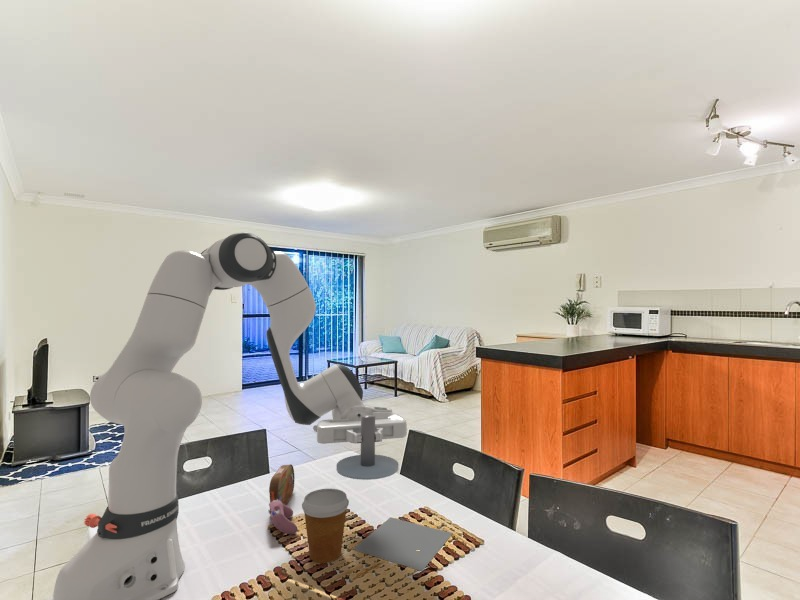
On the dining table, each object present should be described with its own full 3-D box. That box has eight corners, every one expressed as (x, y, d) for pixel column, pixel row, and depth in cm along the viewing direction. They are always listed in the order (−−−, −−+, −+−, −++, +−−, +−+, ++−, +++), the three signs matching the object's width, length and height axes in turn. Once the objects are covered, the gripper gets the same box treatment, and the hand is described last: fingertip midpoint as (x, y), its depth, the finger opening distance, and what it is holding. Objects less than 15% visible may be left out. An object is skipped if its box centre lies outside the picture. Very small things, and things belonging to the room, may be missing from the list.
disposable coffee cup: (305, 574, 82) (305, 510, 83) (298, 549, 91) (298, 491, 92) (354, 564, 86) (354, 502, 86) (342, 540, 95) (342, 485, 95)
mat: (422, 573, 83) (422, 571, 83) (352, 551, 90) (352, 549, 90) (452, 535, 97) (452, 533, 97) (390, 519, 104) (390, 517, 104)
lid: (377, 484, 82) (378, 427, 83) (323, 472, 89) (324, 418, 89) (409, 464, 94) (409, 413, 94) (359, 454, 100) (359, 407, 100)
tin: (279, 515, 107) (279, 480, 107) (266, 515, 107) (267, 480, 107) (295, 490, 122) (295, 459, 122) (284, 490, 122) (284, 459, 122)
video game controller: (277, 524, 105) (263, 500, 104) (294, 513, 106) (281, 489, 106) (280, 545, 96) (266, 518, 95) (299, 532, 97) (285, 506, 96)
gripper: (312, 412, 101) (318, 426, 88) (396, 407, 107) (414, 420, 94) (312, 439, 101) (318, 458, 87) (396, 433, 107) (414, 450, 93)
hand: (368, 438), depth 91 cm, fingers closed on lid, 3 cm apart
